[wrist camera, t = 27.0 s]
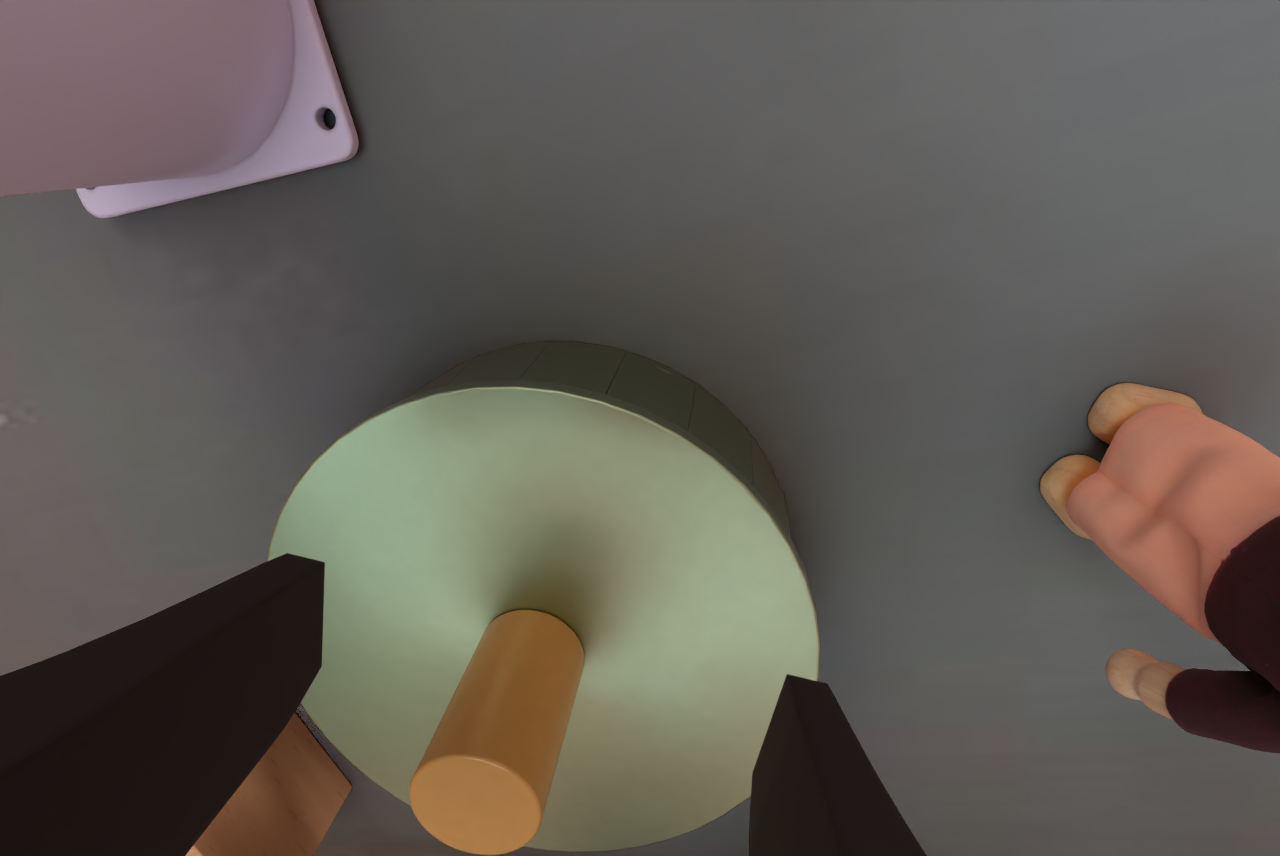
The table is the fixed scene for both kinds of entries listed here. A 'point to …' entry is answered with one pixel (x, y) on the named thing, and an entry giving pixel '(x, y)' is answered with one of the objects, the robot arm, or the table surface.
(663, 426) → the tin lid
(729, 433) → the tin
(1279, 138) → the table surface
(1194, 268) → the table surface
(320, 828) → the block
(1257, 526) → the grandmother figurine
